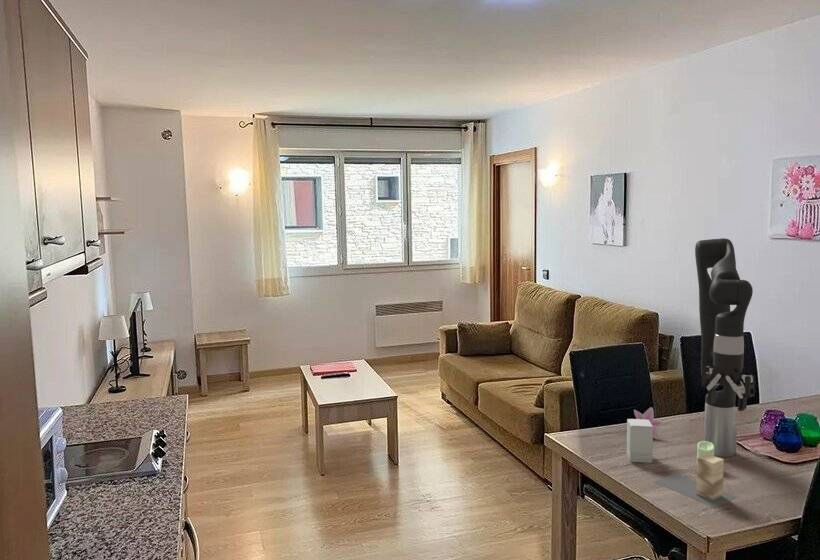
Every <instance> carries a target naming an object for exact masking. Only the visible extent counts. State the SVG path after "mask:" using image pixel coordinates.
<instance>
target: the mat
mask: <svg viewBox="0 0 820 560" xmlns="http://www.w3.org/2000/svg"><path fill="white" fill-rule="evenodd" d="M653 483H655V484H656V485H659V486H662V487H664V488H666V489H669V490H671V491H673V492H676V493H679V494H681V495H683V496H686V497H688V498H690V499H692V500H695V501H697V502H700V503H702V504H705V505H707V506H710V507H712V508H714V509H715V508H717V507H720V506H721V505H724V504H725V503H728V502H730V501H732V500H735V499H737V498H738V497H737V496H734V495H732V494H730V493H727V492H724V491H723V497H721V498H718V499H716V500H714V501H711V500H708V499H706V498H703V497H701V496H698V495H696V488H697V480H694V479H692V478H688V477H687V476H684V475H681V474H679V473H677V472H674V473H672V474H669V475H666V476H664V477H662V478H658V479H656V480H653Z"/></svg>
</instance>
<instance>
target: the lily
mask: <svg viewBox="0 0 820 560" xmlns="http://www.w3.org/2000/svg"><path fill="white" fill-rule="evenodd" d="M633 413H634V416H635V419H646V420H649V421H650V423H651V424H652V426H653V438H654V439H655V440H660V435H659V432H658V430H657V427H658V428H659V427H661V426H662V425H663V424H664V423H663V422H661V421H659V420H656V419H655V415H654V414H655V413H654V408H653V407H651V406H650V407H649V408H647V410H646V411H644V412H643V413H641V412H640V411H638V410H636V409H633Z"/></svg>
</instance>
